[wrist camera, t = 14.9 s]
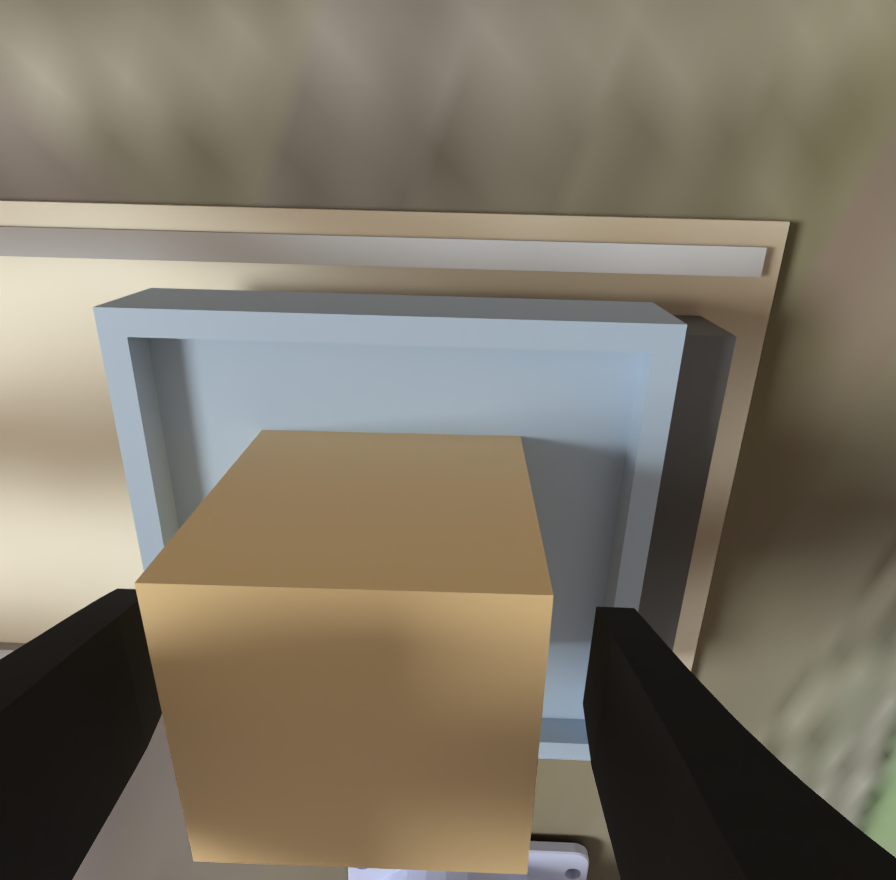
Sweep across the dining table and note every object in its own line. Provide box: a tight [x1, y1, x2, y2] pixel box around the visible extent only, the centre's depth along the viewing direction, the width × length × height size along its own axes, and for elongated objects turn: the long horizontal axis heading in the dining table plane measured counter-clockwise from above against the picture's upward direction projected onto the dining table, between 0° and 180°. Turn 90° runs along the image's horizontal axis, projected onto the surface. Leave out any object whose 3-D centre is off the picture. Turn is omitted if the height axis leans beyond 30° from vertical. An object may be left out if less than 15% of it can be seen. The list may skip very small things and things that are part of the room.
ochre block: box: [134, 430, 554, 874], centre depth 11 cm, size 5×5×5 cm
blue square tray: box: [93, 288, 687, 761], centre depth 14 cm, size 10×10×3 cm
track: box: [0, 200, 790, 671], centre depth 15 cm, size 13×25×2 cm, turn 89°
